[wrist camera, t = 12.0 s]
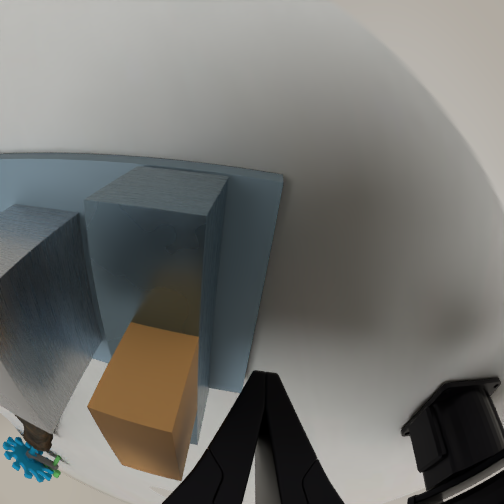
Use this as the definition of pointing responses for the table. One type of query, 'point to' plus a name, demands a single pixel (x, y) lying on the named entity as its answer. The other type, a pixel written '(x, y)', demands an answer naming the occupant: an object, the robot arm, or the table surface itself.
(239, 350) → the vise
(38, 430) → the brown wooden stick
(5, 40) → the table surface
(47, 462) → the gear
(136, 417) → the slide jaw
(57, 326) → the steel block
